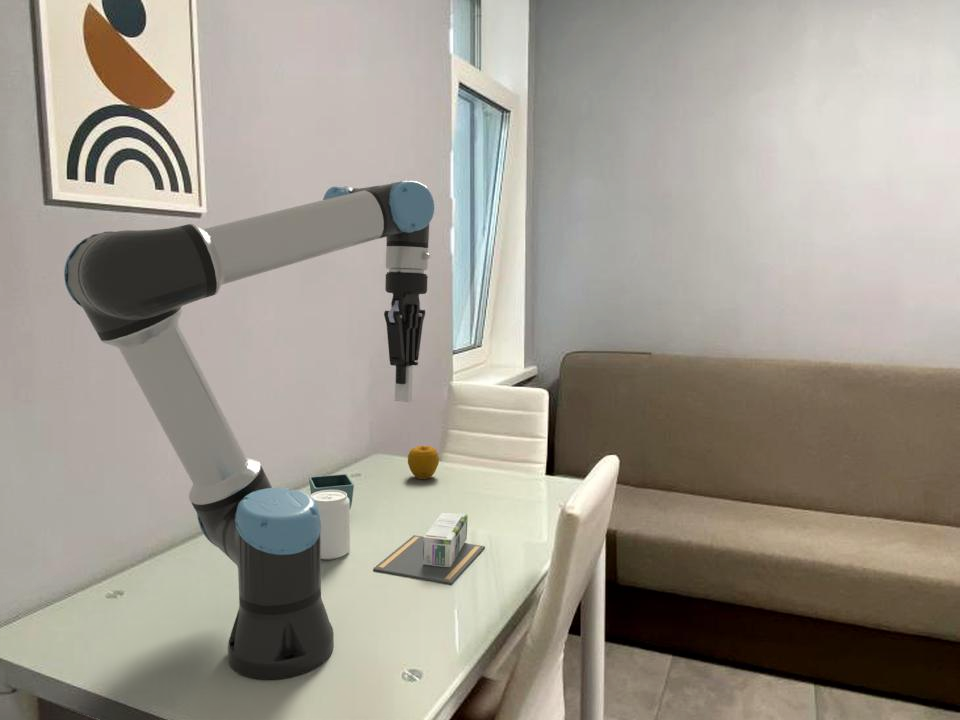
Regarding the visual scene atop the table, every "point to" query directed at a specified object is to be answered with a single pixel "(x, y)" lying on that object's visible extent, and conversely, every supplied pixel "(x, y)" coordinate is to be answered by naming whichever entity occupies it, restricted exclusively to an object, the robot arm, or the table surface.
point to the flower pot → (332, 484)
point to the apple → (423, 461)
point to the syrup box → (445, 540)
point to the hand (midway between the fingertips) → (403, 400)
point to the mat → (411, 565)
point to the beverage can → (333, 522)
